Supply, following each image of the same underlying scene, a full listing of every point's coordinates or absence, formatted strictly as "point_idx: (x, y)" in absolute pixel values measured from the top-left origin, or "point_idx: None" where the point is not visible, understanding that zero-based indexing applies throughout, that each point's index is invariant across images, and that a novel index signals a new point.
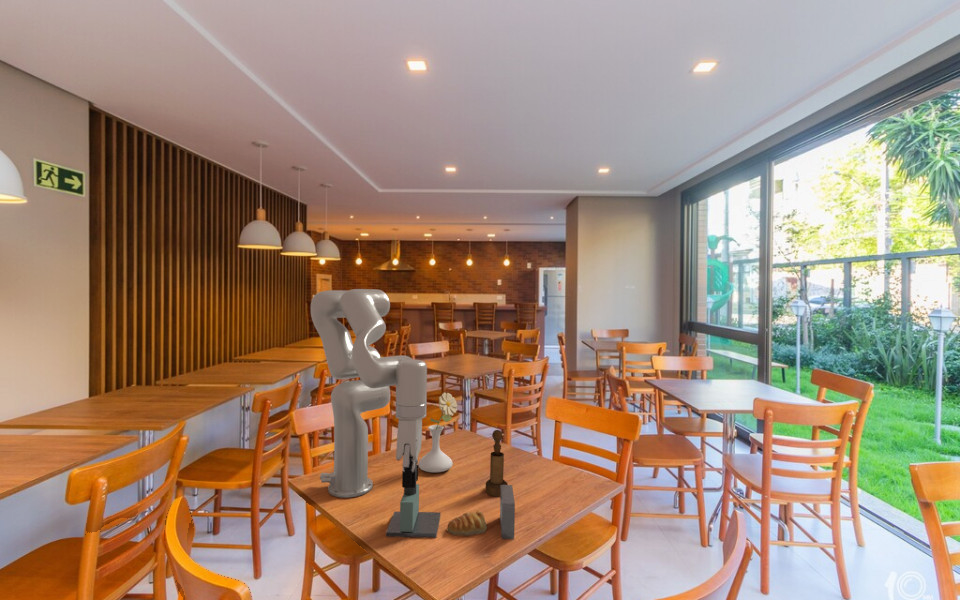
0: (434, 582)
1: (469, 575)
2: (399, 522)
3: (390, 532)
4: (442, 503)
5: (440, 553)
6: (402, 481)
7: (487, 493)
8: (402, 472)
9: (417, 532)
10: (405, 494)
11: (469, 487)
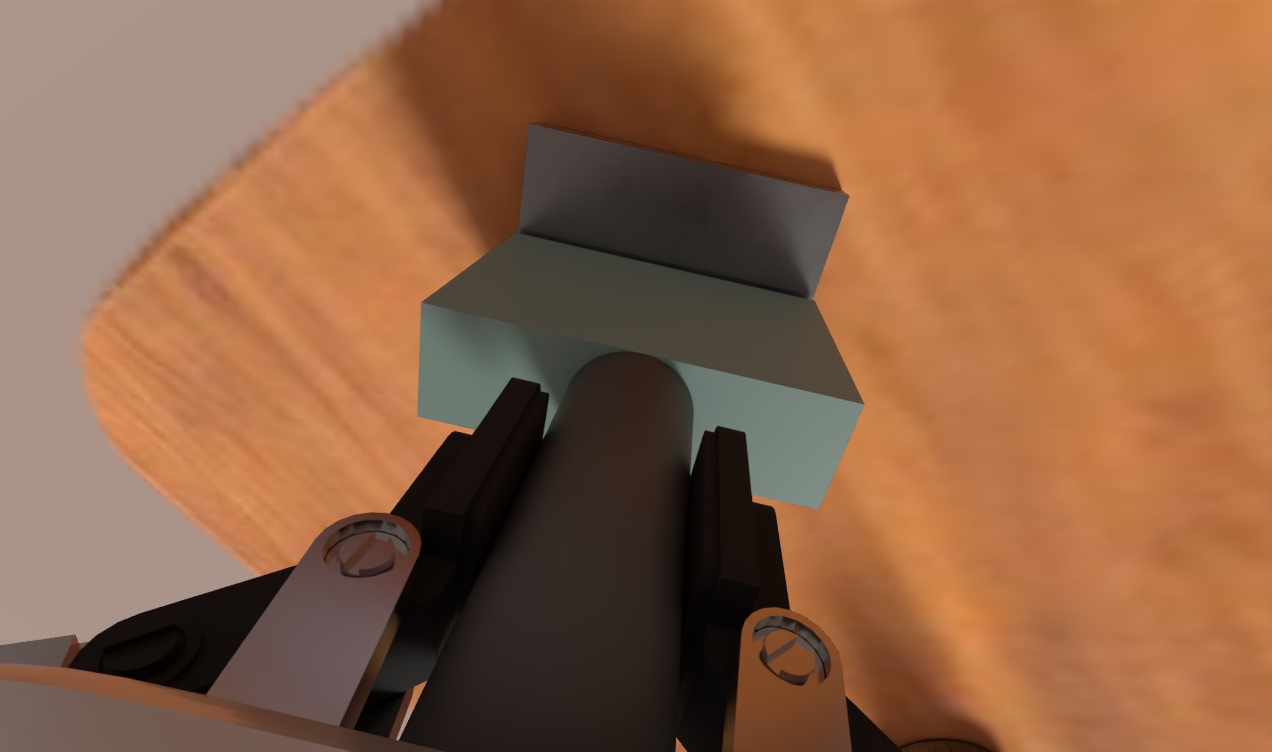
0: (137, 373)
1: (212, 510)
2: (661, 232)
3: (526, 160)
4: (907, 522)
5: (359, 429)
6: (489, 413)
7: (927, 742)
8: (435, 494)
9: None
10: (587, 364)
11: (1064, 690)
